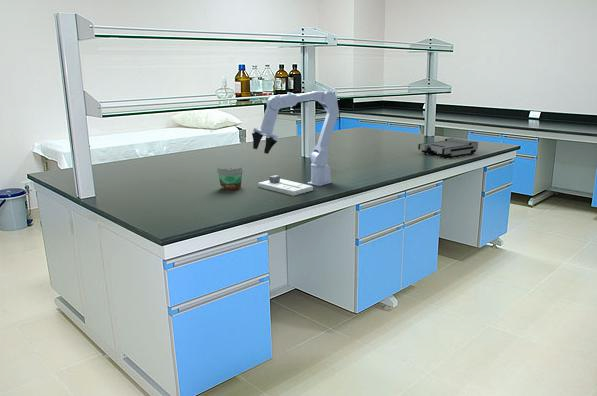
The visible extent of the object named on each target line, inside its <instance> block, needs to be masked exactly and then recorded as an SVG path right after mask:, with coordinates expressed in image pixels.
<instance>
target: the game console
mask: <svg viewBox="0 0 597 396" xmlns="http://www.w3.org/2000/svg"><path fill="white" fill-rule="evenodd" d="M478 148H479V142H478V141H473V140H466V139H461V138H454V137H450V138H445V139H444V140H440V141H433V142H426V143H425V142H424V143H418V145H417V149H418V150H420V151H421V153H423V154H424V153H428V154H437V153H438V154H437V156H439V158H442V157H444V158H443V159H447V158H449V159H454V158H453V157H456V158H459V156H462V157H466V156H465V155H468V156H473V155H472V154H474V153H476V152H477V150H478ZM474 155H475V154H474Z"/></svg>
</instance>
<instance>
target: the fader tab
mask: <svg viewBox="0 0 597 396" xmlns="http://www.w3.org/2000/svg"><path fill="white" fill-rule="evenodd" d="M280 177H281V176H280V175H276V174H275V175H274V174H273V175H271V176H269V177H268V180H269V182H272V183H275V182H279V181H280V179H281V178H280Z"/></svg>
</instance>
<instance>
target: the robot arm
mask: <svg viewBox="0 0 597 396" xmlns="http://www.w3.org/2000/svg"><path fill="white" fill-rule="evenodd" d="M286 93H287V94H277V96H270V97H269V98H268V99H267V100H266V101H265V103H266V109H265V112H264V115H263V118H262V120H261V121H262V122H261V126H260V128H258V127H253V130H252V133H251V135H252V142H253V143H252V149H254V150H258V148H259V146H260V142H261V140H262V139H263V137H264V136H265V147H264V151H263V153H264V154H266V155H268V154H269V153H270V151H271V149H272V148H273V146H275V145H276V144H277V143H278V139H279V136H278V135H276V134H274V133H273V131H274V128H275V126H276V125H275V124H276V121H277V118H278V115H279V114H278V113H279V110H281V109H284V108H291V107H294V106H296V105H297V104H298V103H301V102H306V101H307V102H309V101H316V102H318V103H319V104H320V105H321V106H322V107H323V109H324V110H325V112H326V115H325V117H324V121H323V124H322V127H321V131H320V134H319V137H318V141H317V143H316V145H314V148H313V150H312V151H311V152H310V155H309V161H310V162H311V164H310V181H308V182H307V185H312V186H313V185H314V186H318V187H321V186H325V185H329V184H332V183H333V182H332V181H331V167H330V166H329V164H328V162H329V149H328V147H329V144H330V141H331V139H332V135H333V132H334V128H335V125H336V122H337V119H338V116H339V113H340V109H339V104H338V103H339V102H338V100H339V98H338V96H337V95H336V94H335V93H334V92H333V91H326V90H316V91H315V90H314V91H310V92H305V93H300V94H295V93H293V92H289V91H288V92H286Z"/></svg>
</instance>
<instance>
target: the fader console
mask: <svg viewBox="0 0 597 396" xmlns="http://www.w3.org/2000/svg"><path fill="white" fill-rule="evenodd" d="M257 183H258V184H257V186H258V187H257V188H262V189H265V190H269V191H273V192H277V193H282V194H285V195H289V196H294V197H295V196H298V195H300V194H305V193H307V192H311V191H312V192H313V191H314V186H313V185H311V184H305V183H300V182H296V181H293V180H292V181H291V180H287V179H283V178H280V181H279V182H275V183H272V182H269V179H267V180H265V181H261V182H257Z"/></svg>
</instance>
